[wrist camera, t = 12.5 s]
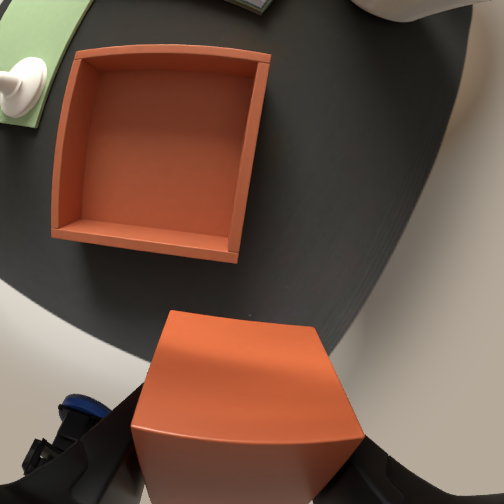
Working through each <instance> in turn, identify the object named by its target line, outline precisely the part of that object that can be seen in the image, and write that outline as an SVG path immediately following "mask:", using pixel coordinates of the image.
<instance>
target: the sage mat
mask: <svg viewBox="0 0 504 504" xmlns="http://www.w3.org/2000/svg"><path fill="white" fill-rule="evenodd" d="M93 1H94V0H12V2H11V3H10V5H9V7H8V8H7V10H6V12H5V13H4V15H3V17H2V19H1V21H0V72H10V71H11V70H12V68H13V67H14V66H15V65H16V64H17V63H19V62H20V61H22V60H23V59H26V58H29V57H34V58H39V59H41V60H42V61H43V62H44V63H45V65H46V68H47V78H46V83H45V87H44V89H43V92H42V94H41V96H40V98H39V100H38V101H37V103H36V104H35V105H34V107H33V108H32V109H31V110H30V111H29V112H28V113H26V114H25V115H23V116H22V117H19V118H12V117H10V116H7V115H5V114H4V113H3V111H2V109H1V106H0V123H6V124H13V125H19V126H26V127H32V128H38V125H39V122H40V118H41V115H42V112H43V108H44V105H45V102H46V99H47V96H48V94H49V91H50V88H51V85H52V83H53V80H54V78H55V75H56V73H57V70H58V68H59V65H60V63H61V61H62V59H63V56H64V54H65V52H66V50H67V48H68V46H69V44H70V42H71V40H72V38H73V36H74V34H75V32H76V30H77V28H78V26H79V24H80V23H81V21H82V19H83V17H84V15H85V14H86V12H87V10H88V9H89V7H90V5H91V4H92V2H93ZM0 93H1V92H0Z"/></svg>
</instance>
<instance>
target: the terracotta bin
mask: <svg viewBox="0 0 504 504" xmlns="http://www.w3.org/2000/svg"><path fill="white" fill-rule="evenodd" d="M270 62H271V55H270V54H265V53H259V52H253V51H246V50H239V49H231V48H222V47H211V46H197V45H168V44H159V45H130V46H116V47H106V48H97V49H90V50H83V51H77V52H76V55H75V58H74V61H73V65H72V68H71V72H70V76H69V79H68V83H67V87H66V92H65V96H64V101H63V105H62V110H61V116H60V121H59V127H58V134H57V141H56V149H55V157H54V168H53V181H52V204H51V227H52V228H51V237H52V238H57V239H64V240H70V241H77V242H84V243H90V244H97V245H104V246H111V247H118V248H125V249H132V250H139V251H146V252H153V253H160V254H167V255H175V256H182V257H189V258H197V259H204V260H212V261H219V262H227V263H235V264H237V262H238V255H239V249H240V242H241V236H242V229H243V223H244V217H245V210H246V204H247V198H248V192H249V185H250V179H251V173H252V167H253V161H254V155H255V149H256V143H257V137H258V131H259V125H260V119H261V113H262V107H263V101H264V96H265V90H266V84H267V79H268V73H269V67H270Z"/></svg>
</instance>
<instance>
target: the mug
mask: <svg viewBox="0 0 504 504" xmlns="http://www.w3.org/2000/svg"><path fill="white" fill-rule="evenodd" d="M351 1H352V2H353V3H355V4H356V5H357V6H359V7H360V8H362V9H363V10H365V11H367V12H369V13H371V14H373V15H376V16H378V17H381V18H384V19H387V20H392V21H397V22H411V21H415V20H417V19H420V18H423V17H426V16H429V15H432V14H435V13H439V12H443V11H446V10H450V9H453V8H457V7H462V6H466V5H471V4H475V3H480V2H484V1H490V0H351Z"/></svg>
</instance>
